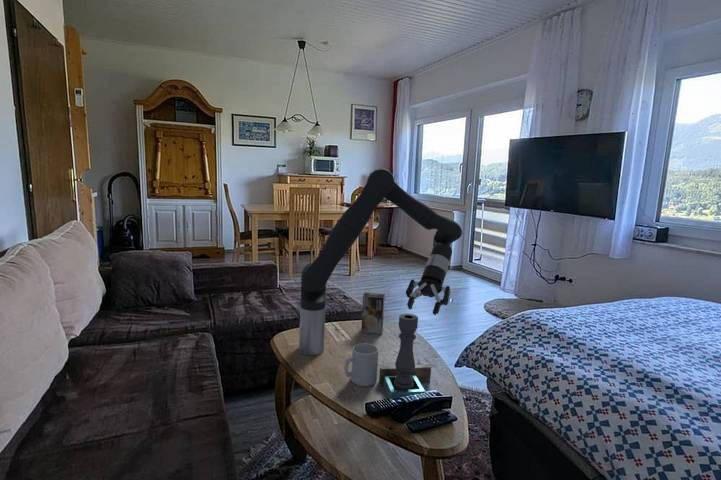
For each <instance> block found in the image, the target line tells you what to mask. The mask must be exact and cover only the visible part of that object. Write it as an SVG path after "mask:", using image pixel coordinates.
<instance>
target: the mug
mask: <svg viewBox="0 0 721 480" xmlns="http://www.w3.org/2000/svg"><path fill="white" fill-rule="evenodd" d="M350 363H351V371H349V364H350ZM378 364H379V348H378V347H377V346H376V345H374V344H372V343H364V342H363V343H358V344H355V345H353V347H352V355H350V356H349V357H347V358H346V359H345V361H344V367H343V368H344V374H345V376H346V377H347V378H350V379H351V382H352V383H353V384H354V385H357V386H360V387H370V386H373V385H375V384H376V383H377V381H378V380H377V379H378Z"/></svg>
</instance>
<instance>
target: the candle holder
mask: <svg viewBox="0 0 721 480" xmlns="http://www.w3.org/2000/svg"><path fill="white" fill-rule="evenodd" d="M398 317H399V318H398V327H399V331H400V333H399V334H398V338H399V339H400V344H399V351H398V354H397V356H396V361H395V362H394V364H395V366H396V369H397V372H398V374H397V375H396V377H395V381H394V387H393V388H394V390H414V383H413V377H412V376H411V374H412V372H413V371H414V369H415V365H416V362H415V355H414V349H413V347H414V340H415V341H416V338H417V336H416V334H415V333H416V331H417V329H418V326H419V325H418V324H419V322H418V321H419V317H418V315H415V314H413V313H402V314H400V315H399V316H398Z"/></svg>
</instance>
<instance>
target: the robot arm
mask: <svg viewBox="0 0 721 480" xmlns="http://www.w3.org/2000/svg"><path fill="white" fill-rule="evenodd" d="M384 199H385V200H387V201H388V202H390V203H391V204H393V205H395V206H397V207H398V208H399V209H400V210H402V212H404V213H405V214H407V216H409V217H410V218H411V219H412V220H413V221H415V222H416V223H417V224H418V225H420V226H421V227H423V228H424V229H426V230H427V231H431V230H436V231H435V233H434V235H433V240H432V241H433V245H432V250H431V252H430V255H429V258H428V259H427V261H426V264H425V266H424V270H423V272H422V274H421V278H420V280H419V281H415V279H411V280H410V281H409V284H408V286H407V288H406V290H405V295H406V297H407V298H408V301H407V303H406V306H407V308H408V309H409V310H412V309H413V306H414V304H415V300H416V299H417V298H420V297H422V296H423V297H428V298H434V299H435V303H434V307H433V310H432V315H433V316H437V315H438V314H439V312H440V309H441V306H443V305H444V306H448V303H449V300H450V295H451V288H450V285H446V286H444V281H445V278H446V275H447V274H448V268H449V264H450V261H451V258H452V255H453V248H452V246H451V245H452V243H455V242H456V241H457V240H459V239H460V238H461V237H462V235H463V230H462V226H460V224H459V223H457V222H456V221H455V220H454V219H451V218H449V217H448V216H447V217H446V216H445V215H443V214H439V213H438V212H436V211H435V210H434V209H433V208H431V207H430V206H428V205H427V204H426V203H425V202H423V201H421V200H420V199H418V198H416V197H415V196H413V195H412V194H410V193H408V191H405V190H404V189H403V188H402V187H401V186H400V185H399V184H398V183H397V182H396V181H395V177H394V175H393V173H392V172H391V171H390V170H388V169H386V168H378V169H375V170H373V171H372V172H371V173H369V175H368V177H367V180H366V183H365V185H364V186H363V188H362V190H361V192H360V194H359V195H358V197H357V198H356V199H355V201H353V203H352V204H351V205H350V206H349V207H348V208H347V209H346V210H345V211H344V212H343V213H342V215H341V216H340V217H339V219H338V220H337V222H336V223H335V225H334V226H333V228H332V229H331V232H330V233H329V234H328V237H327V239H326V240H325V243H324V246H323V247H322V250H321V251H320V252H319V254H318V256H317V257H316V258H315V259H314V261H313V262H310V263H308V264H307V265H305V266H304V267H303V268H302V271H301V278H300V280H301V281H300V308H299V309H300V310H299V311H300V313H299V314H300V316H299V335H298V337H299V339H298V340H299V341H298V353H299V354H300V355H306V356H316V355H317V356H318V355H320V354H322V353H324V350H325V329H326V327H325V325H326V301H327V300H326V299H327V298H326V297H327V295H326V294H327V293H326V291H327V290H326V289H327V284H328V281H329V279H330V278H331V276H332V274H333V272H334V270H335V269H336V267H337V265H338V264H339V262H340V261H341V260H342V258H343V257H344V256H345V255H346V254H347V253H348V251H349V250H350V248H352V246H353V245H354V243H355V242H356V241H357V239H359V236H360V234H362V232H363V230H364V229H365V227H366V225H367V223H368V222H369V221H370V218H371V217H372V215H373V214H374V211H375V210H376V209H377V207H378V206H379V205H380V204H381V203H382V201H383V200H384ZM442 291H443V296H442V299H441V298H440V295H439V294H440V293H441V292H442Z"/></svg>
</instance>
